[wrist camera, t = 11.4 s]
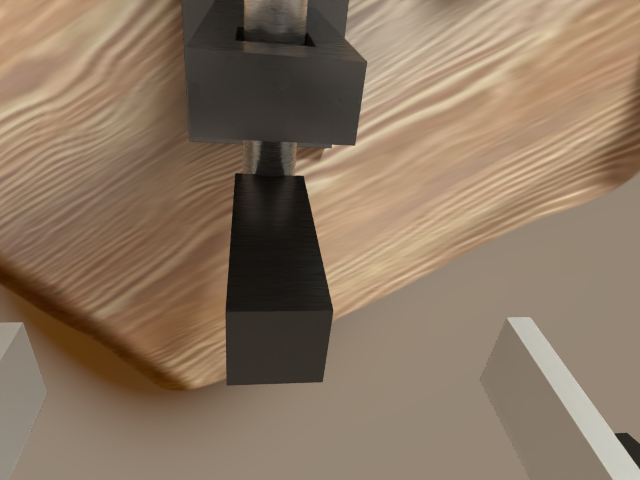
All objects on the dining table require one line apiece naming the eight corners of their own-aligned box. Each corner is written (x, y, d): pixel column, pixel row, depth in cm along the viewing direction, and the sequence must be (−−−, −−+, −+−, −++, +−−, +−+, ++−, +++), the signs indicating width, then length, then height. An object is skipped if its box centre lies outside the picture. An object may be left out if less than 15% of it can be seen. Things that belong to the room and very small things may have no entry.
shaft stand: (173, -207, 23) (60, -420, 10) (364, -176, 25) (503, -320, 11) (191, 133, 33) (148, 272, 19) (328, 140, 35) (379, 273, 21)
